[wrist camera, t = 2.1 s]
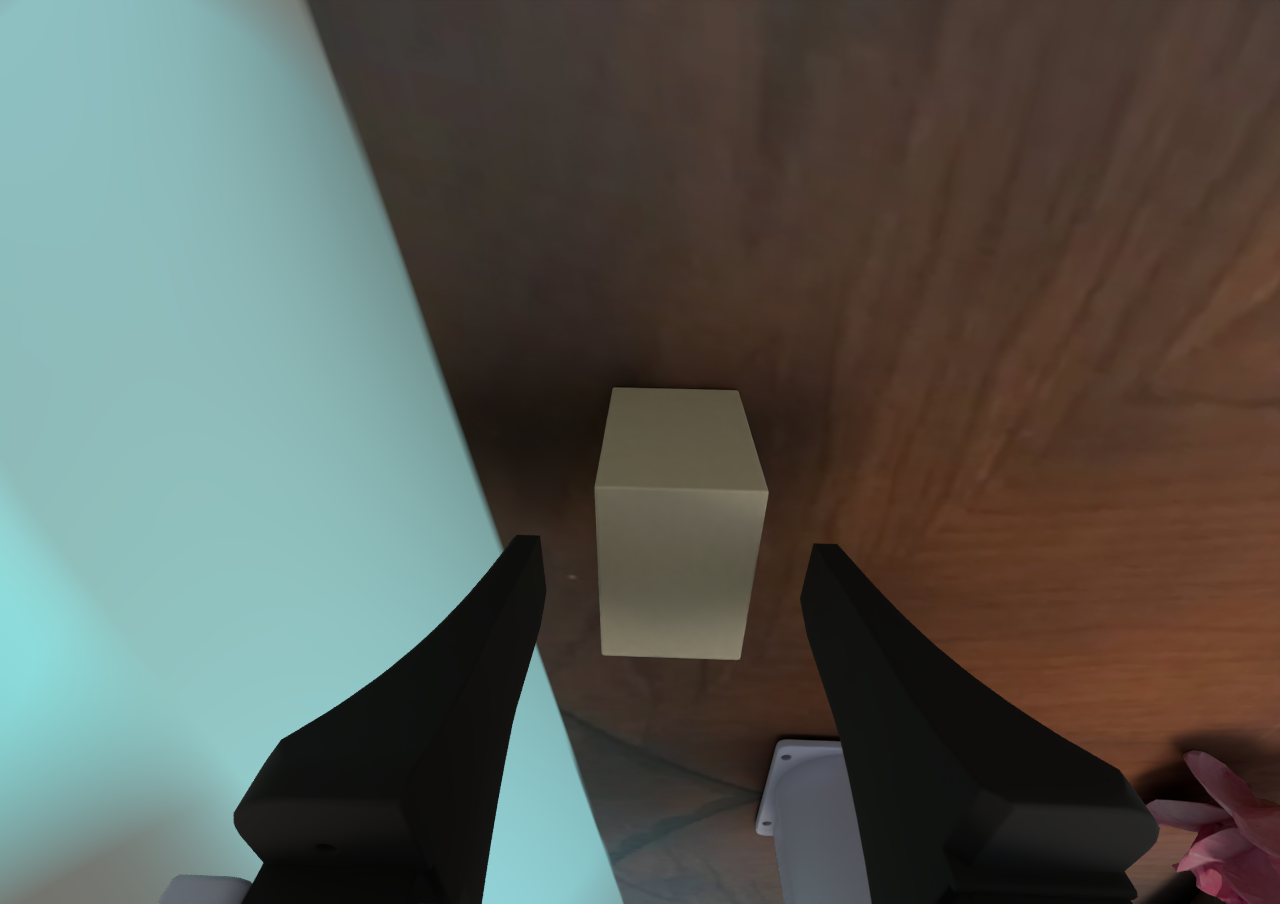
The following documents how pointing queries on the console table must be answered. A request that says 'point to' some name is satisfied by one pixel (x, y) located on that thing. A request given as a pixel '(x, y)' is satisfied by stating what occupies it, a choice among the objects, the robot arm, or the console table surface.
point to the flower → (1227, 835)
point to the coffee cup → (1206, 899)
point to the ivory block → (677, 523)
